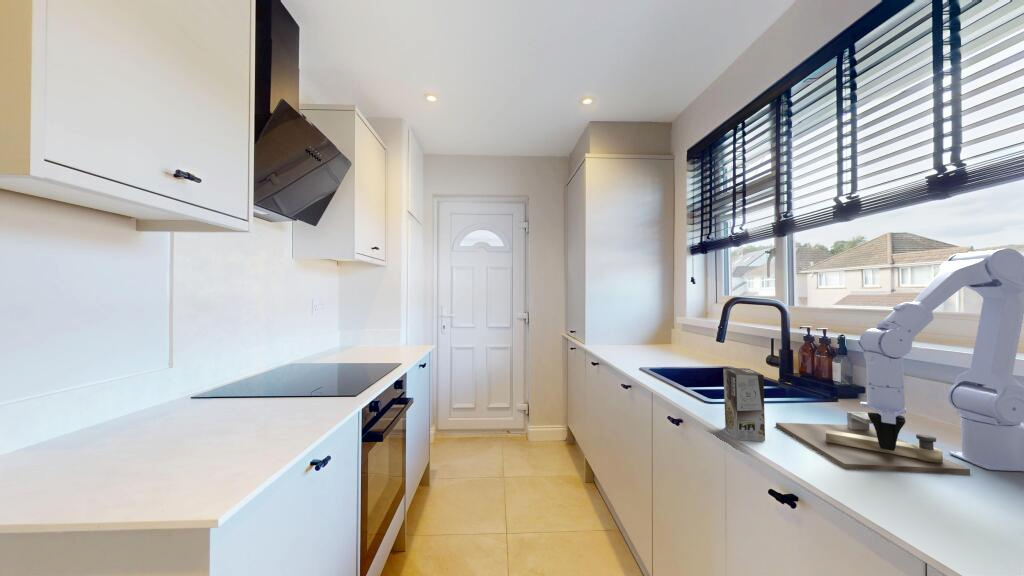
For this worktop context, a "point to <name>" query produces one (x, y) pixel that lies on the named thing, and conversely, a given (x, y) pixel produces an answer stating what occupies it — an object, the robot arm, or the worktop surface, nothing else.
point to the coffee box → (744, 404)
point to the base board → (858, 456)
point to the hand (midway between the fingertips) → (887, 449)
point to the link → (918, 451)
